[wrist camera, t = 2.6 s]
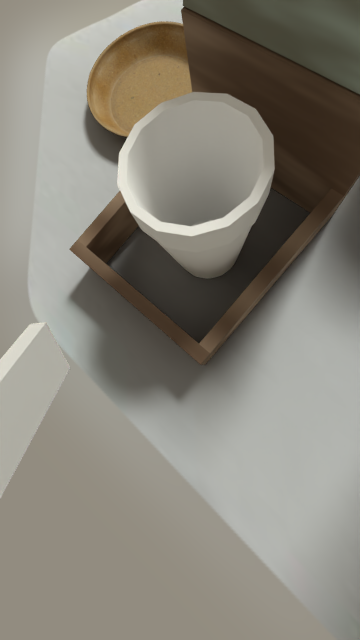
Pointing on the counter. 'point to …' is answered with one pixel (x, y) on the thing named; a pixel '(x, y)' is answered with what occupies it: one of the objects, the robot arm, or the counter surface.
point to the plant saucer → (138, 75)
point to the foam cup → (198, 177)
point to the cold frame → (280, 117)
